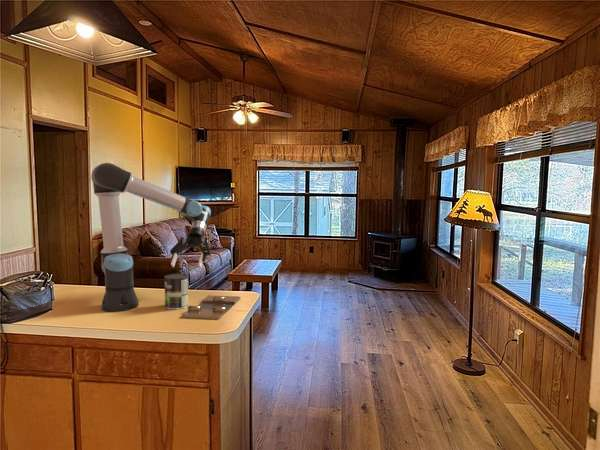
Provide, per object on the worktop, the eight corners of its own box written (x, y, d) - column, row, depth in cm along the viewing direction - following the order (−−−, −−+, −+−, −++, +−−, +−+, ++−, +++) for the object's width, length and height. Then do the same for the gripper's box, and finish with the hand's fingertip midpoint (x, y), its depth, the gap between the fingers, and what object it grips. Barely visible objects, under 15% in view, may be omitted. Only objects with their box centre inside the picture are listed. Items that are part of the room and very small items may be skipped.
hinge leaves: (181, 317, 164) (181, 311, 164) (208, 297, 195) (208, 292, 195) (219, 319, 162) (218, 312, 162) (240, 298, 193) (240, 293, 192)
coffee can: (170, 311, 173) (170, 279, 172) (161, 306, 181) (160, 275, 179) (192, 306, 180) (192, 276, 179) (182, 302, 187) (181, 272, 186)
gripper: (222, 236, 204) (213, 271, 190) (176, 235, 207) (163, 269, 194) (219, 227, 198) (209, 262, 185) (171, 226, 201) (158, 260, 188)
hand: (185, 266), depth 189 cm, fingers open, 13 cm apart
